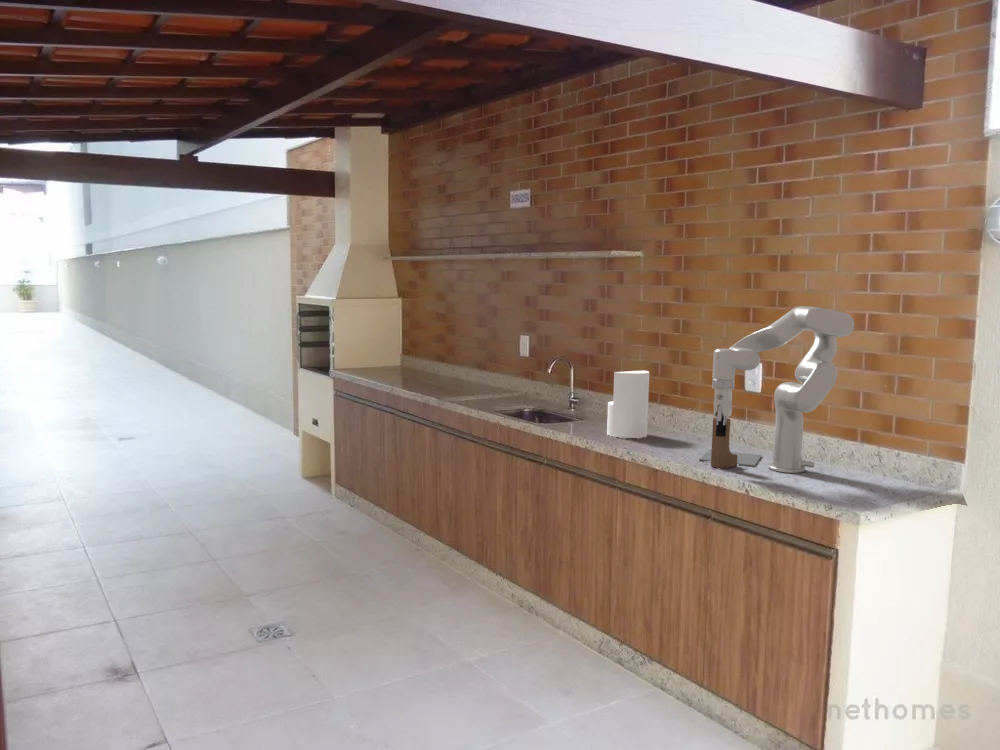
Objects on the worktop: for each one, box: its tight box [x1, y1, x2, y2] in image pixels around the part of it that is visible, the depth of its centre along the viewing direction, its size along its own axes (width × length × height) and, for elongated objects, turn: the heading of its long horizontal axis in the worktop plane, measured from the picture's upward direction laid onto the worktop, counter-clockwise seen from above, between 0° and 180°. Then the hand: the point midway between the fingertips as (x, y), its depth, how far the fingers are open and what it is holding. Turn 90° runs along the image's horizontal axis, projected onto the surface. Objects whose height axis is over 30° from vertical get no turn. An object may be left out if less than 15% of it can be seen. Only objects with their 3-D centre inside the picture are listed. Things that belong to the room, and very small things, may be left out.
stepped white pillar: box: [606, 370, 650, 439], centre depth 356 cm, size 17×17×28 cm
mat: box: [698, 449, 763, 468], centre depth 312 cm, size 20×20×1 cm
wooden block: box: [710, 417, 738, 469], centre depth 297 cm, size 9×4×18 cm, turn 120°
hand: (720, 436), depth 287 cm, fingers closed
